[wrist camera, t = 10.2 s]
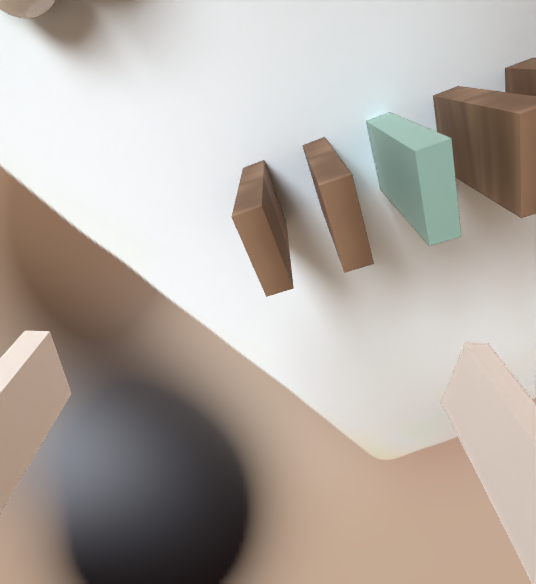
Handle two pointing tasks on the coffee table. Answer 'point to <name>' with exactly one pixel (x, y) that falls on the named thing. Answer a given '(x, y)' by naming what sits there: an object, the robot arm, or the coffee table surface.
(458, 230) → the teal domino
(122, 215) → the coffee table surface
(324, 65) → the coffee table surface
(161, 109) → the coffee table surface
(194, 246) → the coffee table surface
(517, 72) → the domino
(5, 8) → the colorful disc cluster
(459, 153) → the domino
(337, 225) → the domino
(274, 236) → the domino
